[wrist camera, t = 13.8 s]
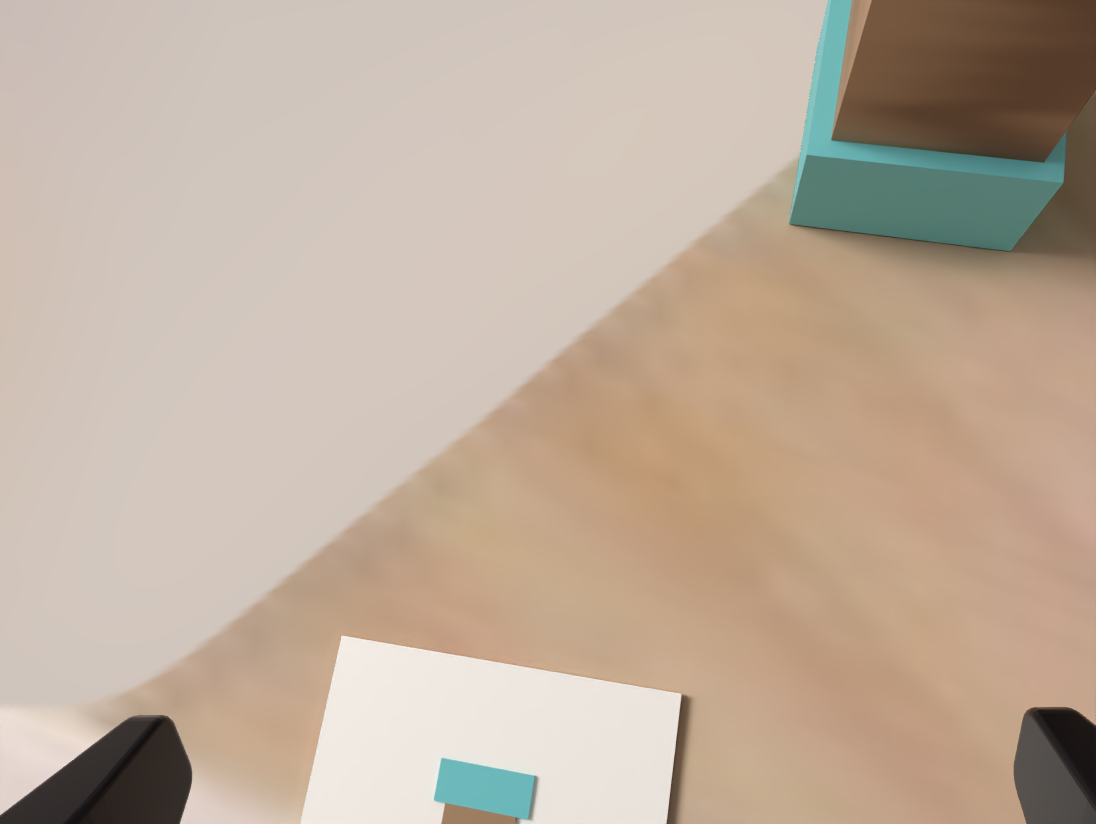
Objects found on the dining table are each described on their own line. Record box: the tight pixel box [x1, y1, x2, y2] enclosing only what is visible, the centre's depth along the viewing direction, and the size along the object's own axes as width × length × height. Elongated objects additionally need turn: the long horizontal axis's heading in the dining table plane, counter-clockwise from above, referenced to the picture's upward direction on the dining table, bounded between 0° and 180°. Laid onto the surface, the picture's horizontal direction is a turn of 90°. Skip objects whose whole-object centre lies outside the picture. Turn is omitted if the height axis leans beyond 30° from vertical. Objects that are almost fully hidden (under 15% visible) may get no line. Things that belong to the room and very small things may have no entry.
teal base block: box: [789, 0, 1067, 251], centre depth 24 cm, size 6×6×4 cm
